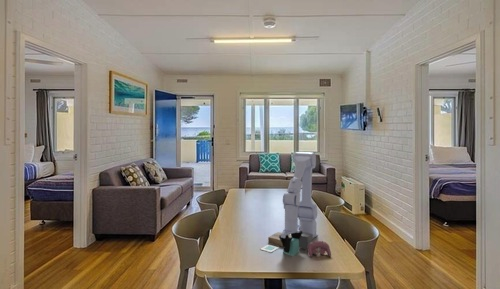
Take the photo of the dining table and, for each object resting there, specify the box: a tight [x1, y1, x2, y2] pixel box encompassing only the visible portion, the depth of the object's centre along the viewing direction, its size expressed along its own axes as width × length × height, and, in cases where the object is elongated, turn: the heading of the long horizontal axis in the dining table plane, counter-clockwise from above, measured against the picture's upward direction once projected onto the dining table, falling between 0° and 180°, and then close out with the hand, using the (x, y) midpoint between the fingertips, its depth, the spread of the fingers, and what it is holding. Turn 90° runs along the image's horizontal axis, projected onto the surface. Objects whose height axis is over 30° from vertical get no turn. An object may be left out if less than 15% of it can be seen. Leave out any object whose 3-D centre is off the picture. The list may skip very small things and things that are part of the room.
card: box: [259, 243, 280, 253], centre depth 143 cm, size 7×6×1 cm
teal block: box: [282, 237, 300, 257], centre depth 138 cm, size 5×5×6 cm
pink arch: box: [307, 240, 332, 258], centre depth 136 cm, size 10×5×7 cm, turn 92°
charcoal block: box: [299, 232, 314, 251], centre depth 145 cm, size 5×5×6 cm
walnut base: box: [267, 231, 292, 248], centre depth 151 cm, size 9×9×3 cm
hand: (290, 249), depth 138 cm, fingers open, 7 cm apart
